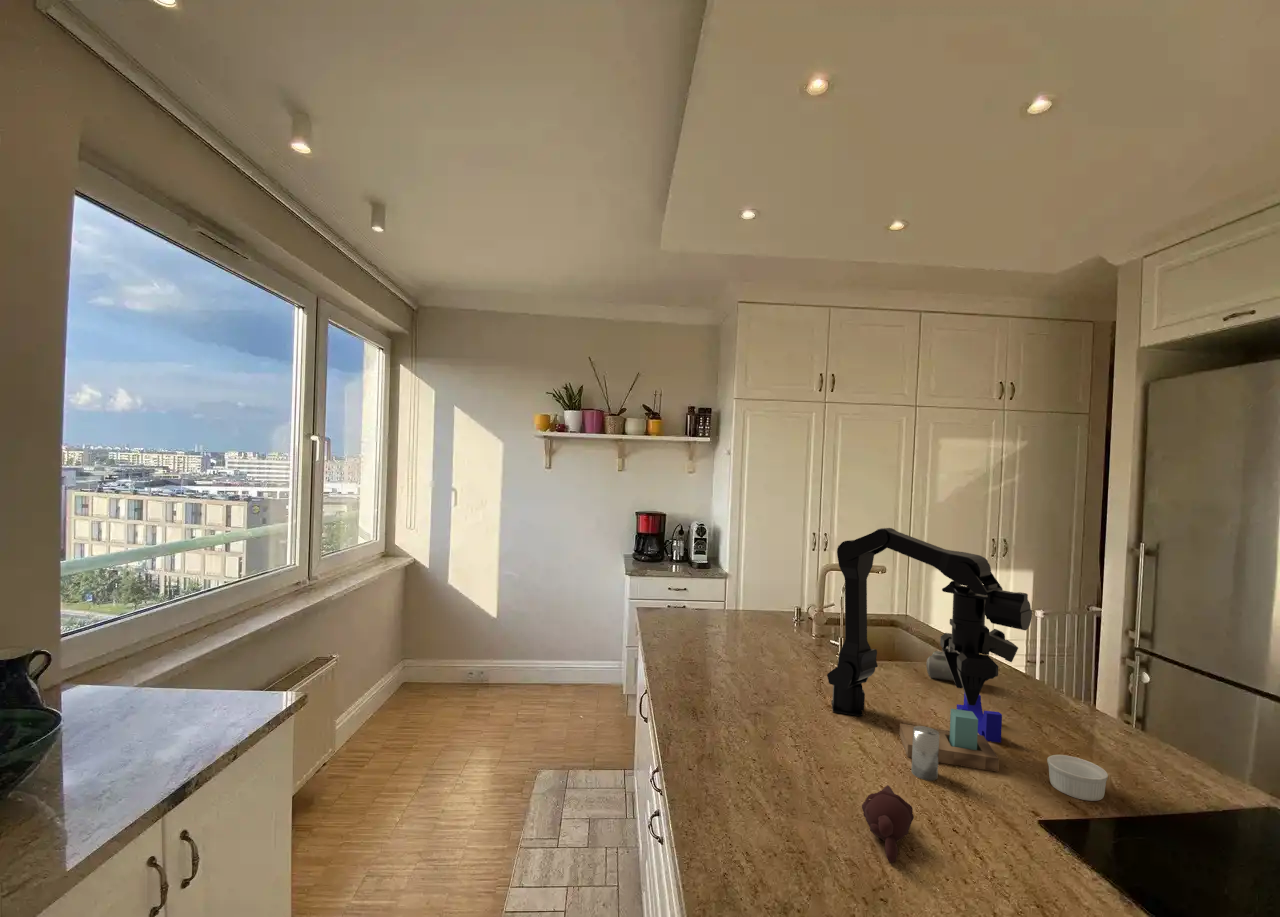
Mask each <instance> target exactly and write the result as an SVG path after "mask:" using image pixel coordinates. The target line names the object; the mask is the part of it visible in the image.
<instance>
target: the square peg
mask: <svg viewBox="0 0 1280 917" xmlns="http://www.w3.org/2000/svg"><path fill="white" fill-rule="evenodd" d="M949 716H950V720H949V731H950V737H949V743H950V745H951V746H952V747H959V748H965V749H972V750H977V736H978V735H979V733H978V719H977V717H976V716H975V714H974V713H973V712H972V711H965V710H958V709H957V708H950V715H949Z"/></svg>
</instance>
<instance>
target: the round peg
mask: <svg viewBox="0 0 1280 917" xmlns="http://www.w3.org/2000/svg"><path fill="white" fill-rule="evenodd" d="M914 726H915V727H914V728H913V746H912V758H911V769H910V770H911V774H912V775H913V776H915V777H916V778H919V779H921V780H925V781H929V782H930V781H936V780H937V779H938V773H939V762H938V755H939V732H938V731H936V730H934V729H935V728H934V729H932V728H933V727H928V726H923V725H914Z"/></svg>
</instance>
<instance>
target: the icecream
mask: <svg viewBox="0 0 1280 917" xmlns="http://www.w3.org/2000/svg"><path fill="white" fill-rule="evenodd" d="M861 809H862V812H863V816H864V818H865V822H866V823H867V825H868V827H869V830H870V832H872V833H873V834H874V836H876V837H877V838H879V839H880V840H882V841H884V850H885V857H886V859H887V861H888V862H889V863H894V862H895V861H897V858H898V853H899V849H898V844H897V843H898V842H899V841H900V840H902V839H903V838H904V837H906V836H907V835H908V834H909V831H910V829H911V824H912V823H913V821H914V818H915V815H914V814H913V812H914V811H913V806H912V805H911V804H909V802H907V801H905V800H904V799H903V797H901V796H900V795H899V794H896V793H895V792H894V791H893V789H892V788H891V787H890V785H888V784H887V785H886V786H885V787H884V788H882V789H881V790H879V791H878V792H875V793H874V792H873V793H870V794H868V796H867V797H866V798H865V800H864V802H862V805H861Z"/></svg>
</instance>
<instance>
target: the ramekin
mask: <svg viewBox="0 0 1280 917" xmlns="http://www.w3.org/2000/svg"><path fill="white" fill-rule="evenodd" d="M1046 759H1047V760H1046V762H1047V765H1048V773H1049V782H1050V785H1051V786H1052V787H1053V788H1055V790H1057V791H1059V792H1060V793H1062V794H1064V795H1066V796H1069V797H1072V798H1074V799H1076V800H1077V799H1078V800H1082V801H1090V802H1096V801H1100V800H1102V799H1104V796H1105V794H1106V793H1105V792H1106V785H1107V781H1108V778H1109V775H1108V772H1107V771H1106V770H1105V769H1104V768H1103V767H1101V766H1100V765H1098V764H1096V763H1093V762H1091V761H1090V760H1089V761H1088V760H1086V759H1082V758H1079V757H1076V756H1071V755H1067V754H1053V755H1050V756H1048V757H1047V758H1046Z"/></svg>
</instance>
